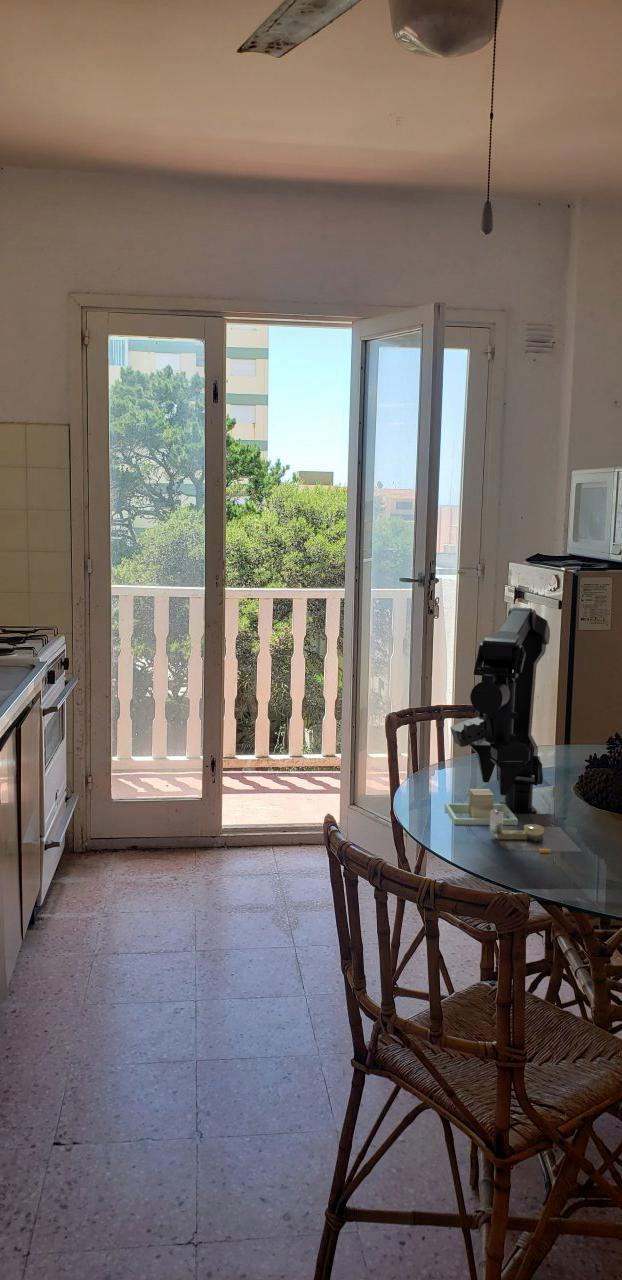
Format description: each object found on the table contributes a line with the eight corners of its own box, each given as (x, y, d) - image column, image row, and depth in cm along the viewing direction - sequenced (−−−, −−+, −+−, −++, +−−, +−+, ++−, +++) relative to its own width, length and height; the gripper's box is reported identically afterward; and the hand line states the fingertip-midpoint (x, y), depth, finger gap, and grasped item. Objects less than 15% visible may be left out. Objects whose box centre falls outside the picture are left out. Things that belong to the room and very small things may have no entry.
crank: (540, 834, 185) (541, 808, 184) (545, 840, 181) (547, 814, 181) (487, 834, 184) (488, 808, 184) (491, 840, 181) (492, 814, 180)
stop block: (468, 817, 198) (469, 788, 197) (487, 818, 198) (489, 789, 198) (472, 824, 194) (473, 794, 193) (492, 824, 194) (493, 794, 194)
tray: (444, 815, 201) (445, 803, 201) (504, 815, 202) (505, 803, 201) (454, 831, 191) (454, 819, 191) (517, 832, 191) (518, 819, 191)
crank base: (487, 834, 190) (487, 823, 190) (559, 834, 191) (559, 824, 190) (505, 860, 175) (506, 849, 175) (583, 861, 176) (583, 850, 176)
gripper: (441, 697, 189) (437, 776, 191) (473, 714, 171) (468, 802, 173) (496, 697, 191) (492, 776, 193) (533, 714, 173) (529, 801, 175)
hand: (494, 788), depth 183 cm, fingers open, 9 cm apart
